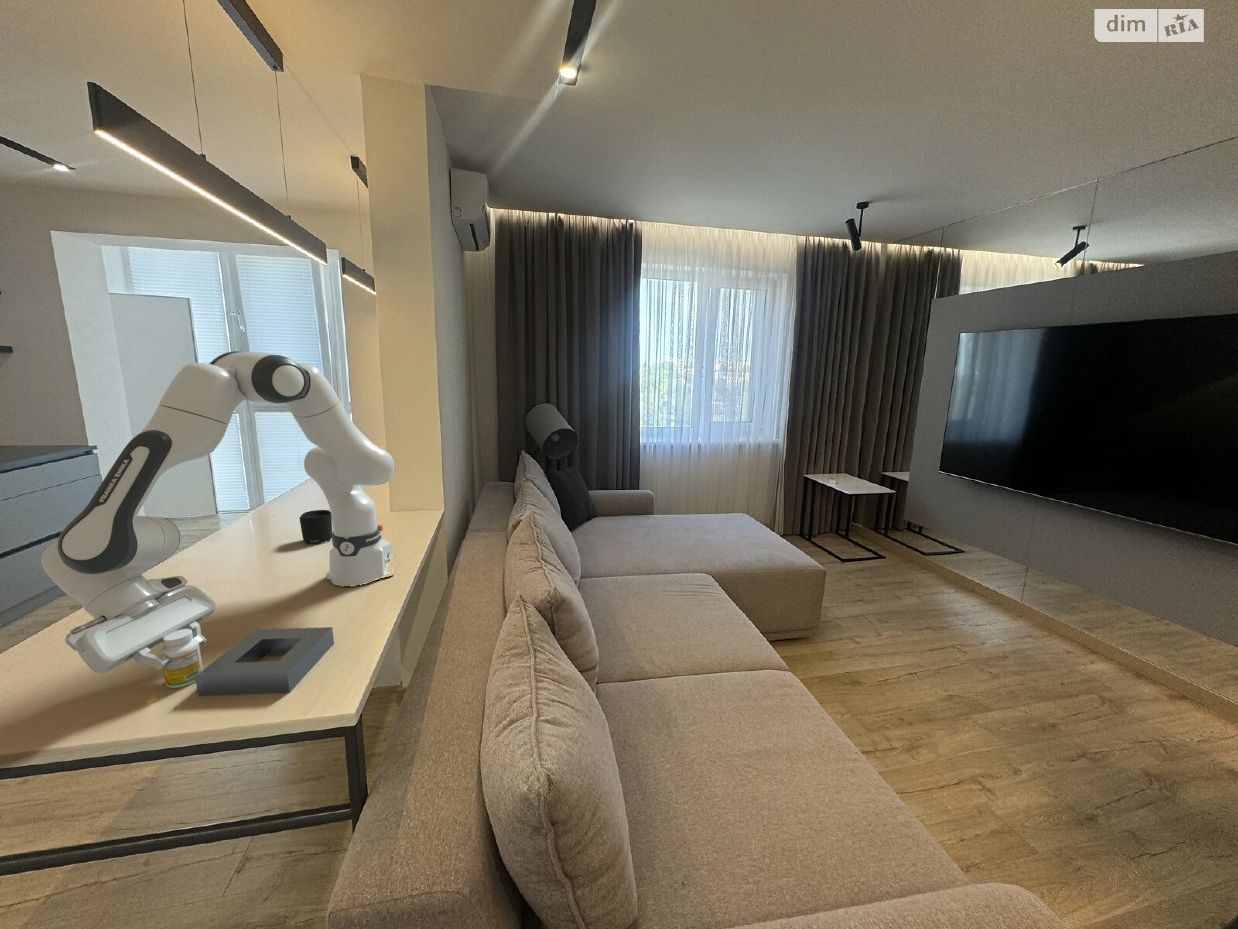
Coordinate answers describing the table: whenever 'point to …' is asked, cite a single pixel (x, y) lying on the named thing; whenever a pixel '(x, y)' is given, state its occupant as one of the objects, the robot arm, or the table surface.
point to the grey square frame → (250, 676)
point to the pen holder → (316, 526)
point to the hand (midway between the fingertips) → (184, 655)
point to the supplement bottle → (181, 658)
